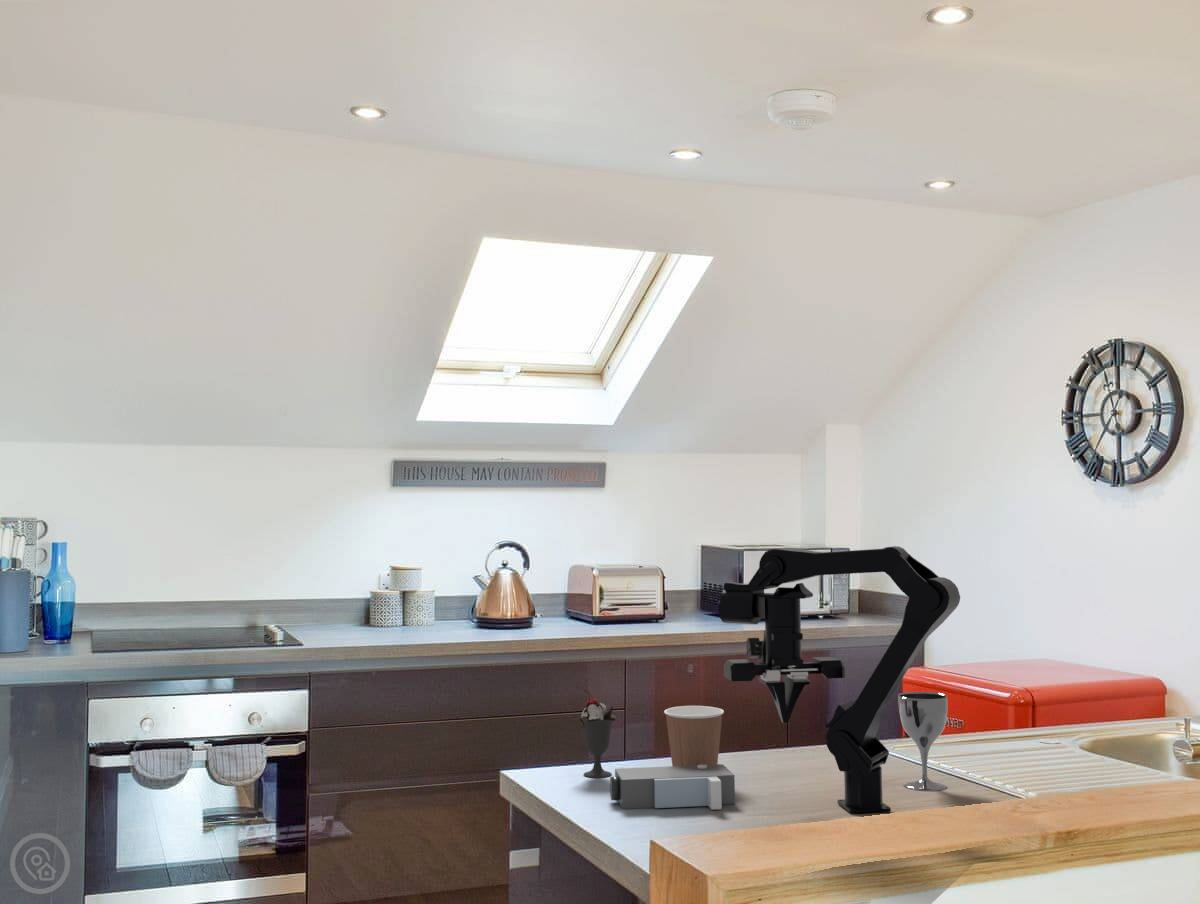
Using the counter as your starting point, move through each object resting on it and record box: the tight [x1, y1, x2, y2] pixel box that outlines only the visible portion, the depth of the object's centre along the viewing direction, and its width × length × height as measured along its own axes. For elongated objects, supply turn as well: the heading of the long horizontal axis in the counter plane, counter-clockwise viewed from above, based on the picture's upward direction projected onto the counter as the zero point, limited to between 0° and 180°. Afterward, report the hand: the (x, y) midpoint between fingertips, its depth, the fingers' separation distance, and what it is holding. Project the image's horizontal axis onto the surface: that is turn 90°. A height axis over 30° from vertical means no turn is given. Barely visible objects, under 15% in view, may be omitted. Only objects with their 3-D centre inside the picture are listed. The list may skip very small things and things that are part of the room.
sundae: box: [578, 688, 616, 779], centre depth 205 cm, size 7×7×15 cm
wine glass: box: [897, 691, 948, 792], centre depth 194 cm, size 8×8×15 cm
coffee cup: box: [663, 705, 725, 766], centre depth 200 cm, size 10×10×12 cm
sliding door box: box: [609, 763, 736, 810], centre depth 186 cm, size 8×19×5 cm, turn 97°
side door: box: [654, 776, 723, 810], centre depth 180 cm, size 3×10×4 cm, turn 97°
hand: (784, 722), depth 187 cm, fingers closed
